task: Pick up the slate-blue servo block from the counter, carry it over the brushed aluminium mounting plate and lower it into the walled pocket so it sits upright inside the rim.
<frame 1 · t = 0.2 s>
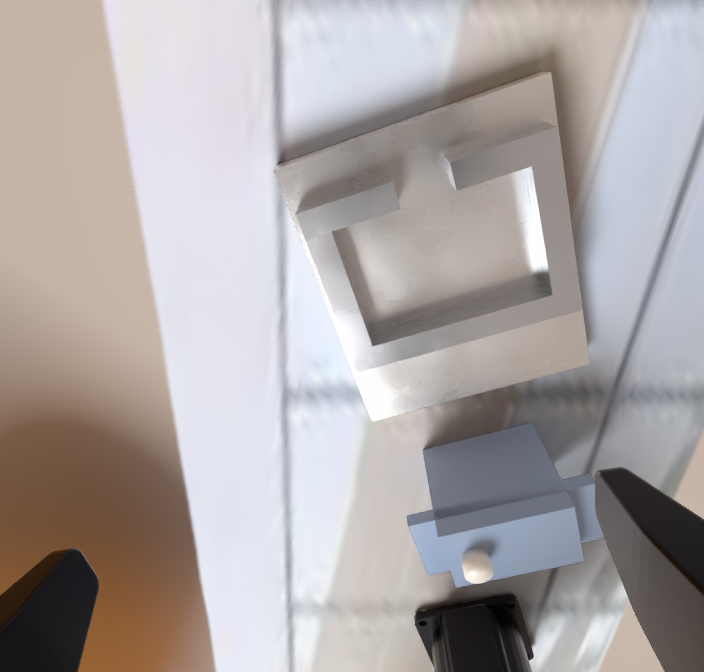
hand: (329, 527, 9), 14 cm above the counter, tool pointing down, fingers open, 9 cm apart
mount plate: (442, 267, 21), on the counter
servo: (483, 460, 27), on the counter
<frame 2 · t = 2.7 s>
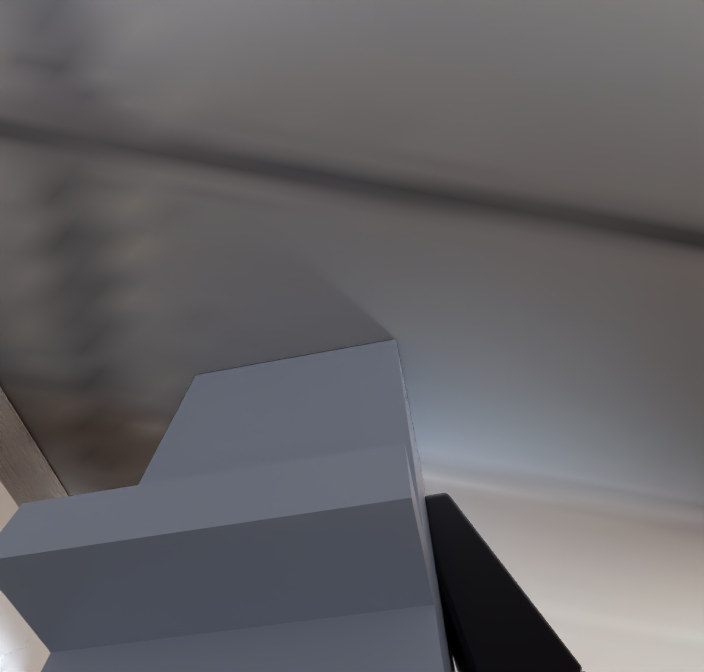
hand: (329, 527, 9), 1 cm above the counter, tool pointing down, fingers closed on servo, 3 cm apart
servo: (331, 483, 10), on the counter, touching gripper
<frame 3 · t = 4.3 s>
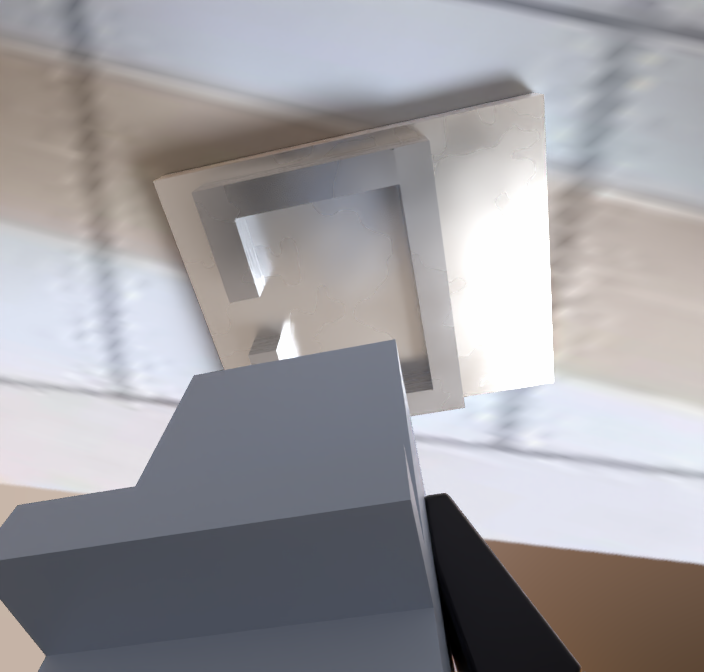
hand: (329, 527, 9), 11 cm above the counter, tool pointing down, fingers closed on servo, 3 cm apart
mount plate: (370, 280, 19), on the counter
servo: (331, 484, 10), point 10 cm above the counter, touching gripper
when the fingers open (3 cm above the counter, at t = 5.9 s): servo drops 1 cm, resting on mount plate.
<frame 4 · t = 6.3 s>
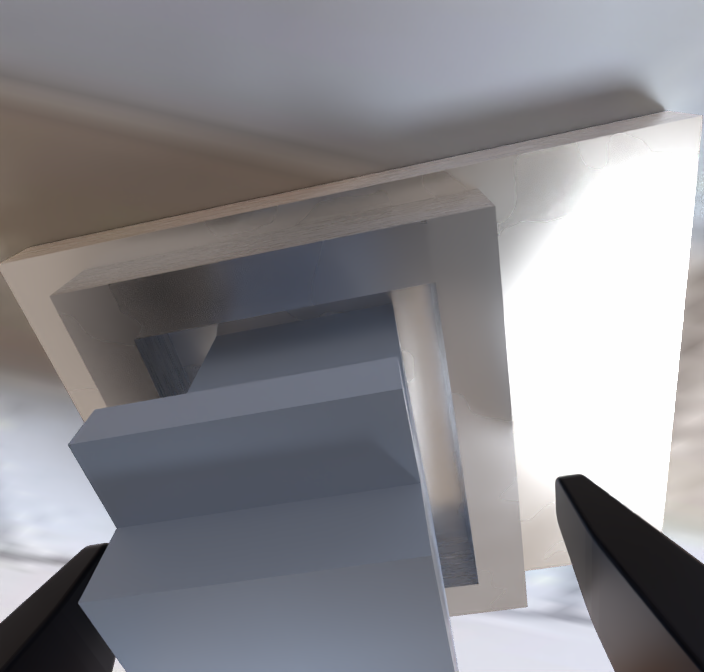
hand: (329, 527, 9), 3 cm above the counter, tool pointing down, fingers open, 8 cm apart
mount plate: (377, 403, 12), on the counter
servo: (335, 436, 11), point 1 cm above the counter, touching mount plate
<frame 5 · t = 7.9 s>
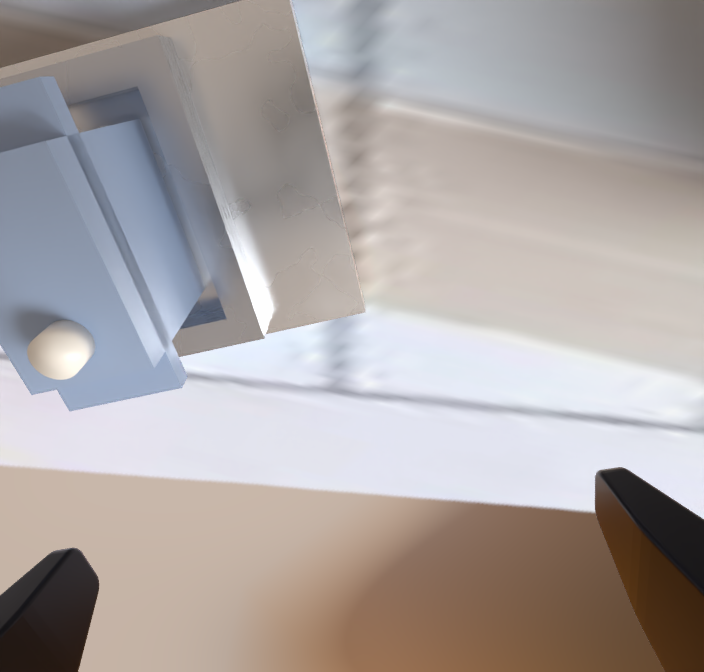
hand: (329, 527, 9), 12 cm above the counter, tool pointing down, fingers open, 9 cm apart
mount plate: (162, 208, 18), on the counter
servo: (126, 221, 17), point 1 cm above the counter, touching mount plate
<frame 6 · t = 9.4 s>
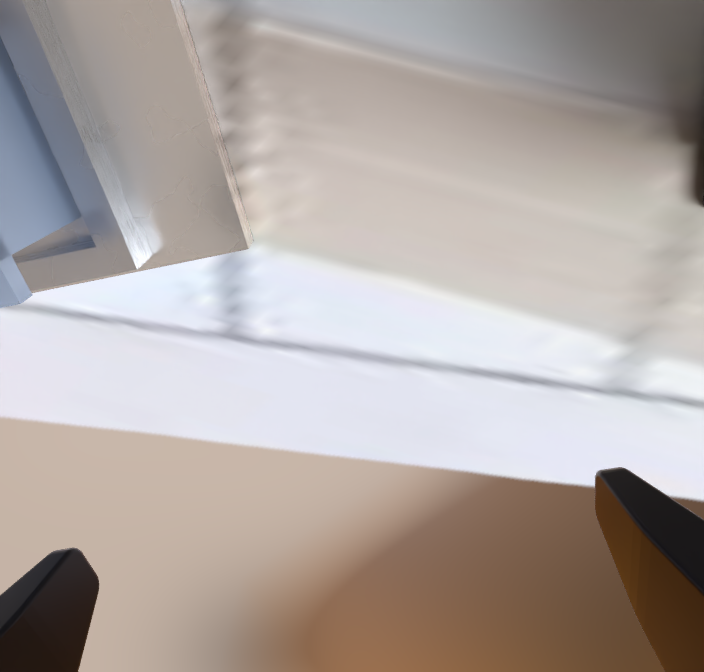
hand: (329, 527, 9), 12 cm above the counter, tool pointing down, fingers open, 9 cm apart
mount plate: (37, 133, 17), on the counter
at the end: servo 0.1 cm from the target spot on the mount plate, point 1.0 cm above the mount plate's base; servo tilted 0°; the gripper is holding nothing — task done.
